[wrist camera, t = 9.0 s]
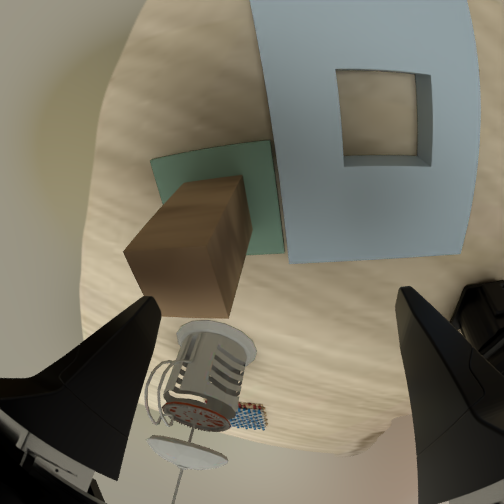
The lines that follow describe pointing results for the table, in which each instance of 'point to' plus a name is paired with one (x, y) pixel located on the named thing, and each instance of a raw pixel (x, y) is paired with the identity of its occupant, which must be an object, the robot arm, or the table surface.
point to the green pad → (231, 164)
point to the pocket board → (371, 166)
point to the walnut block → (194, 249)
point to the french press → (201, 391)
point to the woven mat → (248, 416)
